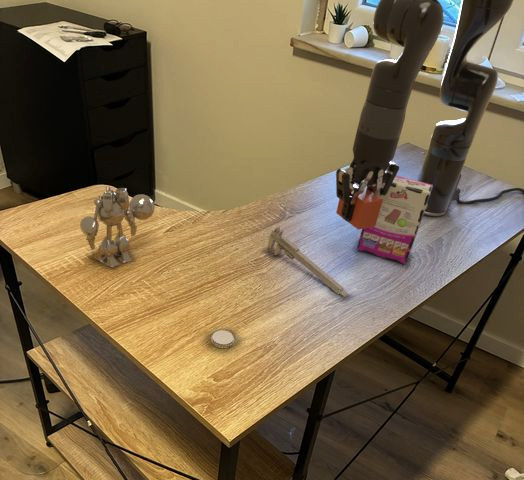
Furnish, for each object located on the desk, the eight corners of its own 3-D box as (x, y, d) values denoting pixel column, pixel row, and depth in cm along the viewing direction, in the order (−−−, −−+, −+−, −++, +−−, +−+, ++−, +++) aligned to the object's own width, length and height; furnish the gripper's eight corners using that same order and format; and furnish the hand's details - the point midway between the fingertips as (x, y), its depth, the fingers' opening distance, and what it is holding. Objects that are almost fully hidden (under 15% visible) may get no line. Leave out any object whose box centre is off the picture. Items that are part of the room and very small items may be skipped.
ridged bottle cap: (205, 338, 88) (205, 335, 88) (223, 329, 90) (224, 326, 90) (221, 351, 86) (221, 348, 86) (239, 341, 89) (239, 338, 88)
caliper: (266, 251, 111) (270, 224, 106) (270, 249, 111) (274, 223, 107) (344, 298, 101) (351, 271, 97) (347, 296, 102) (355, 269, 98)
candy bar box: (409, 254, 117) (434, 184, 106) (405, 265, 113) (431, 193, 102) (361, 239, 119) (380, 169, 108) (355, 249, 115) (375, 178, 104)
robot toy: (144, 237, 109) (141, 167, 99) (162, 251, 106) (161, 180, 96) (79, 259, 101) (69, 185, 90) (96, 275, 98) (88, 200, 88)
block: (352, 209, 107) (359, 183, 103) (375, 226, 103) (383, 199, 99) (335, 213, 105) (342, 186, 101) (358, 230, 101) (365, 203, 97)
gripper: (362, 141, 87) (339, 233, 98) (423, 133, 93) (395, 220, 105) (334, 124, 91) (315, 214, 103) (394, 118, 98) (370, 203, 109)
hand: (356, 217), depth 104 cm, fingers closed on block, 4 cm apart
